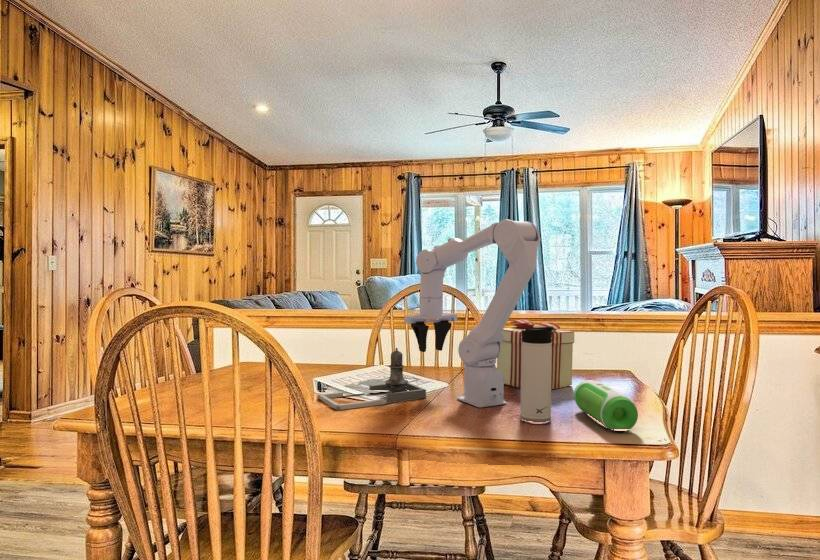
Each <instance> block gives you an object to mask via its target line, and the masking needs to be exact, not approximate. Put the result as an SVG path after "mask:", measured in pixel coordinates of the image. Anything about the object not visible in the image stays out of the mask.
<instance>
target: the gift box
mask: <svg viewBox="0 0 820 560" xmlns="http://www.w3.org/2000/svg"><path fill="white" fill-rule="evenodd" d="M510 324H511V325H513V326H514V327H504V328H503V330H502V332H501V333H502V335H503V336H504V340H503V342H502V344H501V352H500V355H499V356H498V357H497V358H496V368H497V369H498V370H500V371H501V372H502V374H503V377H504V386H505V385H506V386H508V387H509V386H510V387H513V388H517V389H521V345H522V343H521V341H522V330H525V329H528V328H538V327H550V326H553V327H554V330H552V338H551V339H552V345H551V346H552V371H551V390H557V389H562V387H563V388H568V387H567V386H569V387H571V386H570V385H573V351H574V350H573V348H574V346H573V345H574V344H575V331H573V330H568V329H560V328H561V326H560V325H558V324H556V323H553V322H545V323H544V322H541V323H539V324H535V323H534V322H533V321H530V320H527V319H517V320H512V321H510Z"/></svg>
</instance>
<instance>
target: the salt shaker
mask: <svg viewBox="0 0 820 560" xmlns="http://www.w3.org/2000/svg"><path fill="white" fill-rule="evenodd" d="M388 366H389V368H390V374H389V375H390V376H389V378H388V379H386V380H385V381H384V384H386V387H387V389H388V390H389V391H391V392H392V393H395V392H404V391H405V389H406V387H407V383H409V381H408V380H407V379H406V378H404V371H403V370H404V367H405V365H403V353H402V352H401V351H399V348H398V347H395V350H394V351H392V352H391V354H390V365H388Z"/></svg>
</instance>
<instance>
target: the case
mask: <svg viewBox="0 0 820 560" xmlns="http://www.w3.org/2000/svg"><path fill="white" fill-rule="evenodd" d="M368 389H369V390H388V389H387V387H386V383H382V384H380V383H379V384H373V385H372V384H370V385H368ZM406 389H407V390H409V391H405V390H404V391H402V392H395V393H390V392H386V394H385V402H386V401H387V402H386V403H388V404H389V403H397V402H404V401H412V400H418V399H419V400H420V399H426V398H427V389H426V388H423V387H420V386H419V385H415V384H413V383H410V382H408V383H407V387H406ZM369 390H368V391H369Z"/></svg>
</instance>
